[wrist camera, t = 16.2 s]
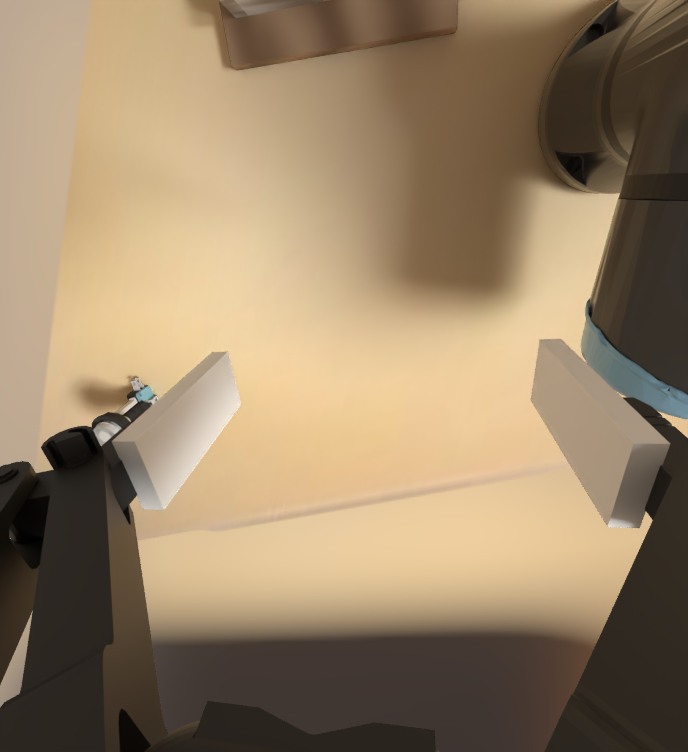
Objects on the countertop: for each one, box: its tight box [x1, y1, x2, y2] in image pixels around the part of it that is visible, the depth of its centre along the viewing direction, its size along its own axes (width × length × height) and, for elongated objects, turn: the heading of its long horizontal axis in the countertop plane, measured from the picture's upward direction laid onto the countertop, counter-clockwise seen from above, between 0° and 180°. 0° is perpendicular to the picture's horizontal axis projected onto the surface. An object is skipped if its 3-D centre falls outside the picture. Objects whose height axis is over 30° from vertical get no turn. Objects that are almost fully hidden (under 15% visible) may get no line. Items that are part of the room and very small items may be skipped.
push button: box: [92, 378, 159, 445], centre depth 53 cm, size 7×5×10 cm
